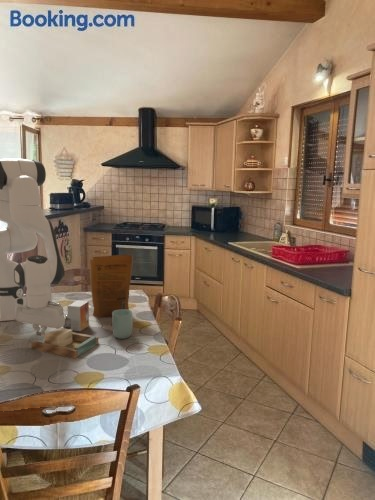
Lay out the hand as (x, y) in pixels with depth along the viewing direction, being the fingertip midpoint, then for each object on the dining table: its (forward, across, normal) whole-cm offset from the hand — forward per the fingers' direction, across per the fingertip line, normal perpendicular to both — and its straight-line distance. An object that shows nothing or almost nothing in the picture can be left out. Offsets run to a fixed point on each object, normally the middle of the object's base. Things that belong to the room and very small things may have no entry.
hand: (40, 335), depth 147 cm
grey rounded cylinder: (+2, -5, -10) cm, 11 cm away
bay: (+2, -11, 0) cm, 11 cm away
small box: (+2, -5, -17) cm, 18 cm away
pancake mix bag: (+2, -9, -36) cm, 37 cm away
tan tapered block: (+2, -8, 0) cm, 8 cm away
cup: (+2, -26, -16) cm, 30 cm away
